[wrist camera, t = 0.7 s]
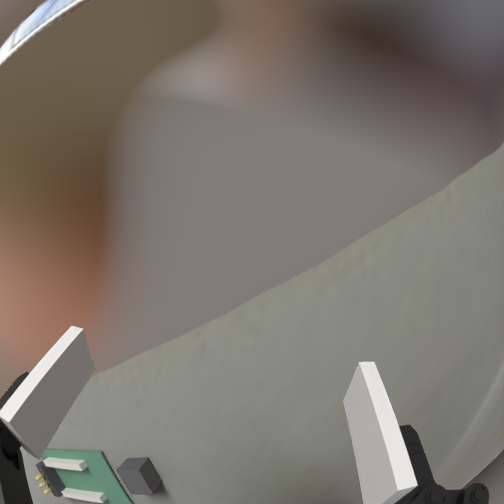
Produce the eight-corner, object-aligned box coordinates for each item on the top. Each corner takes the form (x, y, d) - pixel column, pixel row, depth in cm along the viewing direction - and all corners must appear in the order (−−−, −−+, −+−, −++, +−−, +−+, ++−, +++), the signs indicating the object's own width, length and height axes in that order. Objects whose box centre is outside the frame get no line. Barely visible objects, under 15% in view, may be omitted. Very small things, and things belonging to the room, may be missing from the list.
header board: (134, 505, 37) (120, 523, 30) (67, 496, 37) (52, 509, 30) (101, 451, 40) (82, 466, 32) (39, 447, 40) (20, 457, 32)
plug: (161, 481, 39) (153, 494, 34) (139, 481, 39) (130, 494, 34) (148, 457, 40) (138, 469, 35) (126, 458, 40) (115, 469, 35)
